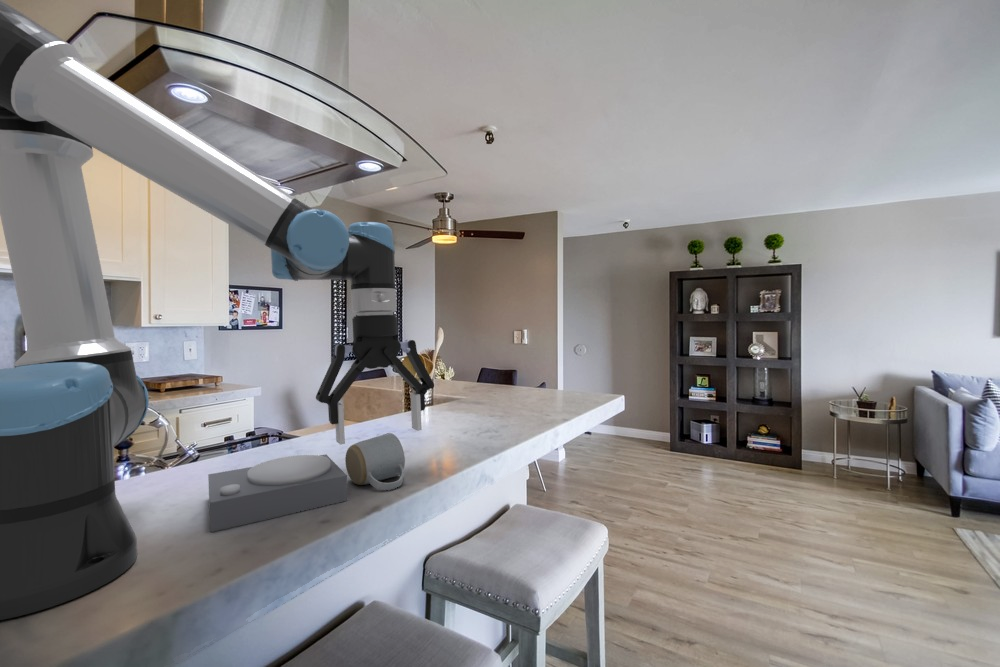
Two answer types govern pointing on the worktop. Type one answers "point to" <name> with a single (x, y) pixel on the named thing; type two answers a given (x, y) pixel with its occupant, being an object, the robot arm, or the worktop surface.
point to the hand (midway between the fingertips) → (380, 435)
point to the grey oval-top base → (274, 490)
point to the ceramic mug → (376, 461)
